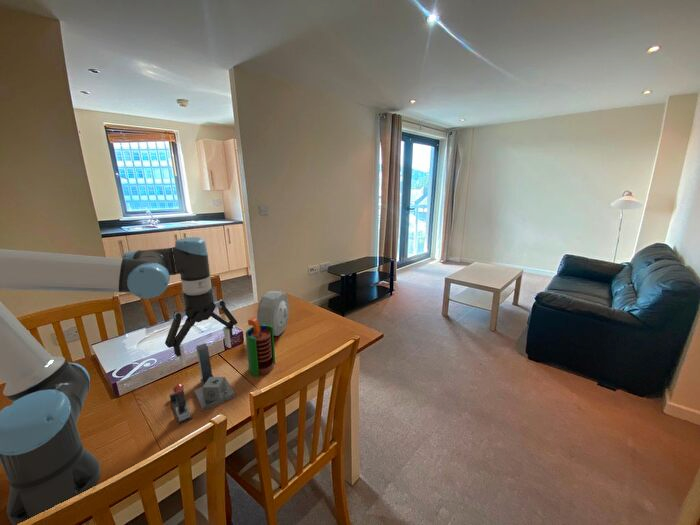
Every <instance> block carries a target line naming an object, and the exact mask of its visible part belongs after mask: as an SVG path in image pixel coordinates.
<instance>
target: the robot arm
mask: <svg viewBox="0 0 700 525" xmlns="http://www.w3.org/2000/svg"><path fill="white" fill-rule="evenodd" d="M174 243H175V244H174V246H172V247H165V248H155V249H141V250H140V249H138V250H136V251H135V250H134V251H128V252H125V253H124V254H122V258H121V257H110V256H108V257H107V256H98V255H97V256H96V255H95V256H94V255H84V254H83V255H82V254H69V253H57V252H47V251H45V252H43V251H31V250H22V249H21V250H20V249H19V250H18V249H7V248H0V290H3V291H4V290H8V291H9V290H13V291H14V290H15V291H49V292H50V291H51V292H53V291H54V292H57V291H58V292H88V293H89V292H93V293H94V292H95V293H96V292H97V293H129V294H130V293H131V294H133V296H136V297H137V298H141V299H143V300H144V299H148V300H149V299H153V298H157V297H159V296H160V295H162V294H163V293H164V292H165V291H166V290H167V288H168V287H169V283H170V276H176V275H180V282H181V288H182V292H183V302H184V307H185V309H184V310H183V311H178V310H175V311H174V312H173V319H172V323H171V325H170V328H169V331H168V334H167V336H166V340H165V342H164V344H165V346H166V347H167V348H168V349H171V348H173V353H174V355H175V356H176V357H179V363H180V364H181V366H182V367H185V366H187V362H186V356H185V350H184V345H183V344H182V342H183V341H184V339H185V338H186V336H187V335H188V333H189V331H190V330H191V329H192V327H193V326H194V325H195V323H201V322H202V321H203V322H204V321H208V320H209V319H210V318H212V319H214V320H216V321H218V322H219V323H221V325H223V335H224V336H223V337H224V344H225V346H226V347H227V348H229V349H230V348H232V341H231V337H233V336H234V335H233V329H234V326H237V324H238V320H237V319H236V318H235V317H234V316H233V314H232V313H231V312H230V311H229V309H228V308H227V306H226V302H225V301H224V300H223V299H221V298H219V299H218V300H217V301H215V302H214V295H213V290H212V280H211V273H210V262H209V255H208V250H207V245H206V240H205V239H203V238H202V237H185V238H179V239H176V241H174ZM216 307H217V308H218V309H220V310H221V311H222V313H223V314H224V315H225V317H226V318H227V319H228V320H229V321H227V320H225V319H224V318H222V317H220V316H219V315H218V314H216V313H214V311H215V309H216ZM185 316H186V318H185V320H184V321H185V322H184V323H183V325H182V327H181V328H180V326H181V323H182V320H183V319H184V317H185ZM179 328H180V329H179ZM0 379H1V380H2V381H3V382H5V386H4V389H3V391H2V394H3V395H4V396H5V397H6V398H7V399H8V400H9V401H10V402H12V403H11V404H10V405H7V406H5V407H3V408H2V409H0V465H1V468H2V470H3V472H4V474H5V476H6V479H7V481H8V483H9V493H8V500H7V505H6V514H7V517H8V521H9V522H10V524H11V525H17V524H18V523H20V522H23V521H25V520H27V519H29V518H31V517H33V516H35V515H37V514H39V513H41V512H44V511H45V510H48V509H50V508H52V507H54V506H55V505H57V504H59V503H62V502H64V501H66V500H68V499H70V498H72V497H74V496H76V495H78V494H80V493H82V492H84V491H86V490H88V489H90V488H92V487H93V486H95V485H96V486H97V483H98V482H99V480H100V478H101V474H102V473H101V472H102V469H101V465H100V461H99V460H98V459H97V457H96V456H94V454H92V453H91V452H90V451H89V450H88V449H87V448H85V447H84V446H83V442H82V439H81V435H80V433H79V429H78V421H79V419H80V414H81V411H82V410H83V406H84V404H85V402H86V398H87V396H88V394H89V391H90V388H91V383H90V382H91V379H90V374H89V372H88V370H87V369H86V368H85V367H84V366H82V365H81V364H79V363H77V362H69V361H68V360H67V359H66V358H65V357H63V356H52V355H51V354H50V353H49V352H48V351H47V349H45V347H44V346H43V345H42V344H41V343H40V342H39V341H38V340H37V339H36V338H35V337H34V335H32V333H30V331H29V330H28V329H27V328H26V327H25V326H24V325H23V324H22V323H21V322H20V320H18V319H17V317H15V315H14V314H13V313H12V312H11V311H10V309H8V307H6V306H5V305H4V304H3V302H1V300H0Z"/></svg>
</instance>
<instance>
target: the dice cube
mask: <svg viewBox="0 0 700 525" xmlns="http://www.w3.org/2000/svg"><path fill="white" fill-rule="evenodd" d="M225 378H226V377H225V376H214V377H209V379H208V380H207V381H206V383H205V384H204V386H201V387H202V388H203V394H204V400H205V401H220V400H221V399H222V397H223V395H224V393H225V392H226V390H227V389H226V382H225Z"/></svg>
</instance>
